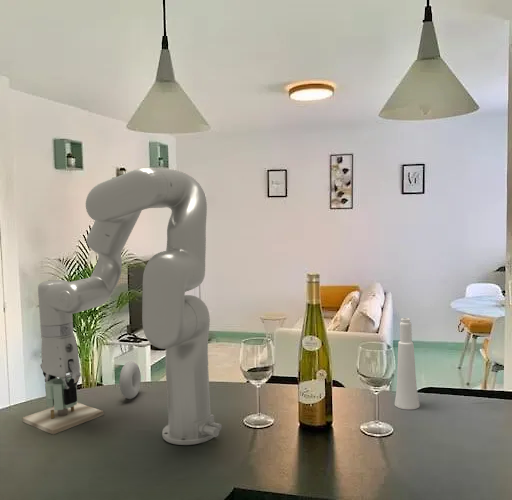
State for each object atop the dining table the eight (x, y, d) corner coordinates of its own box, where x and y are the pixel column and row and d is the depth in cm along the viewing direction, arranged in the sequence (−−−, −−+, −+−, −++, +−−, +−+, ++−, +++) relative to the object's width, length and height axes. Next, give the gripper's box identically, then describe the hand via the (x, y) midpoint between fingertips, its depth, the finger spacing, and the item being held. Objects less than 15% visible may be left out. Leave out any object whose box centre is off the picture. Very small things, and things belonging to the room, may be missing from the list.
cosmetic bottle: (424, 405, 133) (422, 318, 131) (411, 411, 129) (409, 322, 127) (403, 399, 137) (401, 315, 136) (389, 405, 133) (387, 319, 132)
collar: (82, 403, 134) (81, 379, 134) (57, 412, 129) (55, 387, 128) (66, 397, 138) (65, 375, 138) (41, 406, 133) (40, 382, 132)
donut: (131, 391, 152) (129, 357, 151) (143, 391, 152) (141, 357, 151) (118, 404, 142) (116, 367, 141) (130, 404, 142) (128, 367, 141)
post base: (103, 414, 135) (102, 391, 134) (52, 434, 124) (51, 409, 124) (71, 404, 144) (70, 382, 143) (22, 421, 133) (20, 398, 132)
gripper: (91, 331, 130) (95, 402, 131) (51, 323, 140) (56, 389, 142) (63, 337, 124) (68, 412, 125) (24, 329, 134) (29, 398, 136)
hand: (61, 399), depth 133 cm, fingers closed on collar, 7 cm apart
